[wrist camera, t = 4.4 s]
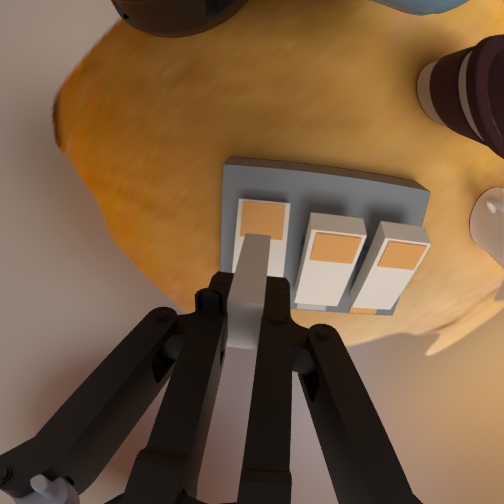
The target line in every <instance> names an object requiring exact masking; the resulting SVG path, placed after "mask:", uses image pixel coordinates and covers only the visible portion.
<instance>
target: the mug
mask: <svg viewBox="0 0 504 504" xmlns="http://www.w3.org/2000/svg"><path fill="white" fill-rule="evenodd" d="M470 234H471V237H472V239H473V241H474V243H475V244H476V245H477V246H478V247H480V248H482V249H484V250H485V251H486V252H487V253H488V254H489V255H490V256H491V257H492V258H493V259H494V260H495V261H496V262H497V263H498V264H499V265H500V266H501V267H502V268H503V269H504V188H500V187H495V188H491V189H489V190H487V191H486V192H484V193H483V194H482V195H481V196H480V198H479V199H478V200H477V202H476V204H475V206H474V208H473V210H472V213H471V217H470Z"/></svg>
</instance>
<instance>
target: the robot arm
mask: <svg viewBox="0 0 504 504" xmlns="http://www.w3.org/2000/svg"><path fill="white" fill-rule="evenodd" d="M111 1H112V3H113V5H114V6H115V8H116V10H117V12H118V13H119V15H120V16H121V17H122V18H123V19H124V20H125V21H126V22H127V23H129V24H130V25H131V26H133V27H135V28H137V29H139V30H141V31H144V32H146V33H149V34H152V35H155V36H161V37H184V36H190V35H194V34H198V33H201V32H204V31H207V30H209V29H211V28H213V27H216V26H217V25H219V24H221V23H223V22H224V21H226V20H227V19H229V18H230V17H232V16H233V15H234V14H235V13H236V12H238V11H239V10H240V9H241V8H242V7H243V5H244V4H245V3H246V2H247V1H248V0H111ZM370 1H373V2H376V3H379V4H382V5H385V6H388V7H391V8H393V9H396V10H399V11H401V12H404V13H408V14H412V15H421V16H422V15H428V14H432V13H435V14H439V13H443V12H446V11H449V10H452V9H454V8H456V7H458V6H460V5H462V4H464V3H466V2H467V1H469V0H370ZM270 240H271V236H270V235H260V234H250V233H246V234H245V237H244V241H243V244H242V248H241V252H240V255H239V259H238V263H237V266H236V270H235V273H229V272H220V271H218V272H217V273H216V274H215V275H213V276H212V279H211V282H210V284H209V287H208V288H204V289H201V290H199V291H197V293H196V294H195V308H196V310H195V312H193V313H190V314H184V315H177V313H176V311H175V310H174V309H172V308H168V307H158V308H155V309H153V310H152V311H150V312H149V313H148V314H147V315H146V316H145V317H144V318H143V320H142V321H140V323H139V324H138V325H137V326H136V327H135V328H134V329H133V330H132V331H131V332H130V333H129V334H128V335H127V336H126V337H125V338H124V339H123V340H122V341H121V343H120V344H118V346H117V347H116V348H115V349H114V350H113V351H112V352H111V353H110V354H109V355H108V356H107V357H106V358H105V359H104V361H102V363H101V364H100V365H99V366H98V367H97V368H96V369H95V370H94V371H93V372H92V373H91V374H90V375H89V377H88V378H87V379H86V380H85V381H84V382H83V383H82V384H81V385H80V386H79V388H78V389H77V390H76V391H75V392H74V393H73V394H72V395H71V396H70V398H68V400H67V401H66V402H65V403H64V404H63V405H62V406H61V407H60V408H59V410H58V411H57V412H56V413H55V414H54V415H53V416H52V418H51V419H50V420H49V421H48V422H47V423H46V424H45V425H44V426H43V428H42V429H41V430H40V431H39V432H38V433H37V435H36V436H35V437H33V438H32V439H30V440H28V441H26V442H24V443H22V444H21V445H19V446H17V447H15V448H13V449H11V450H9V451H8V452H6V453H4V454H2V455H0V489H1V490H2V491H4V492H5V493H7V494H8V495H10V496H11V497H12V498H13V499H14V501H15V503H16V504H80V500H79V496H78V495H80V494H81V493H82V492H84V491H85V490H86V489H87V488H88V487H89V486H90V485H91V484H92V483H93V482H94V481H95V479H96V478H97V477H98V476H99V474H100V473H101V472H102V470H103V469H104V467H105V466H106V465H107V463H108V462H109V461H110V459H111V458H112V457H113V455H114V454H115V452H116V451H117V450H118V448H119V447H120V445H121V444H122V443H123V441H124V440H125V439H126V437H127V436H128V435H129V433H130V432H131V430H132V429H133V428H134V426H135V425H136V423H137V422H138V421H139V419H140V418H141V417H142V415H143V414H144V413H145V411H146V410H147V408H148V407H149V405H150V404H151V403H152V401H153V400H154V399H155V397H156V396H157V395H158V393H159V392H160V390H161V389H162V388H163V386H164V385H165V383H166V382H167V381H168V379H169V378H170V376H171V378H170V381H169V383H168V386H167V389H166V392H165V394H164V397H163V400H162V403H161V406H160V409H159V412H158V414H157V417H156V420H155V423H154V426H153V429H152V432H151V435H150V438H149V441H148V444H147V446H146V448H145V449H142V450H140V452H139V453H138V455H137V457H136V459H135V462H134V465H133V468H132V471H131V474H130V477H129V480H128V483H127V486H126V489H125V492H124V493H123V494H121V495H118V496H117V497H115V498H113V499H112V500H110V501H108V502H106V503H104V504H207V503H204V502H201V501H199V500H197V499H196V496H197V484H198V477H199V473H200V468H201V464H202V459H203V454H204V450H205V445H206V441H207V436H208V431H209V427H210V422H211V418H212V413H213V408H214V404H215V399H216V395H217V390H218V386H219V381H220V376H221V372H222V367H223V363H224V358H225V346H226V342H227V346H228V347H236V348H244V349H253V350H257V358H256V366H255V375H254V382H253V390H252V398H251V405H250V413H249V420H248V428H247V435H246V443H245V450H244V457H243V465H242V471H241V477H240V484H239V491H238V498H237V502H234V503H223V504H291V487H292V477H291V473H290V469H289V464H290V440H291V405H292V403H291V402H292V371H295V372H298V376H299V380H300V383H301V386H302V389H303V392H304V395H305V399H306V402H307V405H308V408H309V410H310V414H311V417H312V420H313V424H314V427H315V430H316V433H317V436H318V439H319V443H320V446H321V449H322V451H323V455H324V458H325V462H326V465H327V468H328V471H329V474H330V477H331V481H332V484H333V487H334V490H335V493H336V497H337V500H338V503H339V504H423V503H421V501H420V500H419V499H418V498H417V497H416V496H415V495H414V494H413V493H412V490H411V488H410V485H409V483H408V481H407V478H406V476H405V474H404V471H403V469H402V467H401V465H400V462H399V460H398V458H397V456H396V453H395V451H394V449H393V446H392V444H391V442H390V440H389V438H388V435H387V433H386V431H385V429H384V427H383V425H382V422H381V420H380V418H379V416H378V414H377V412H376V410H375V408H374V405H373V403H372V401H371V399H370V397H369V395H368V392H367V390H366V388H365V386H364V384H363V382H362V380H361V378H360V376H359V374H358V372H357V370H356V368H355V366H354V364H353V361H352V360H351V357H350V356H349V353H348V352H347V349H346V347H345V345H344V343H343V341H342V339H341V337H340V335H339V333H338V332H337V331H336V329H335V328H333V327H332V326H330V325H327V324H315V325H313V326H311V327H310V328H309V329H308V328H305V327H302V326H300V325H298V324H296V323H295V322H294V321H293V320H292V318H291V315H290V283H289V281H288V280H287V278H284V277H274V276H267V270H268V260H269V250H270Z"/></svg>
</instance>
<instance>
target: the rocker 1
mask: <svg viewBox="0 0 504 504" xmlns="http://www.w3.org/2000/svg"><path fill="white" fill-rule="evenodd" d="M289 213H290V203H281V202H270V201H260V200H248V199H239V203H238V214H237V224H236V235H235V245H234V256H233V267H232V273H235V270H236V266H237V263H238V259H239V255H240V252H241V248H242V244H243V241H244V237H245V234H246V233H250V234H260V235H270V236H271V240H270V250H269V260H268V270H267V276H274V277H283V273H284V264H285V254H286V244H287V234H288V224H289Z"/></svg>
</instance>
